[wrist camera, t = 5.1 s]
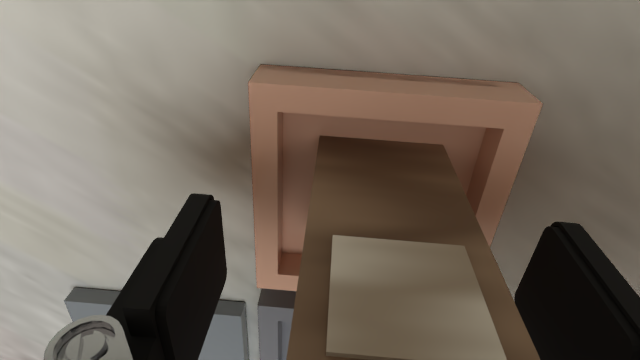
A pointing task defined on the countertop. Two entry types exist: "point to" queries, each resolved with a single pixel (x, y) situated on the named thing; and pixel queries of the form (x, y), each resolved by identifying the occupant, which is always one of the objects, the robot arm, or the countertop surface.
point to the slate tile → (221, 340)
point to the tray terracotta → (379, 124)
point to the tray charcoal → (275, 322)
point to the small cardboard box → (398, 262)
